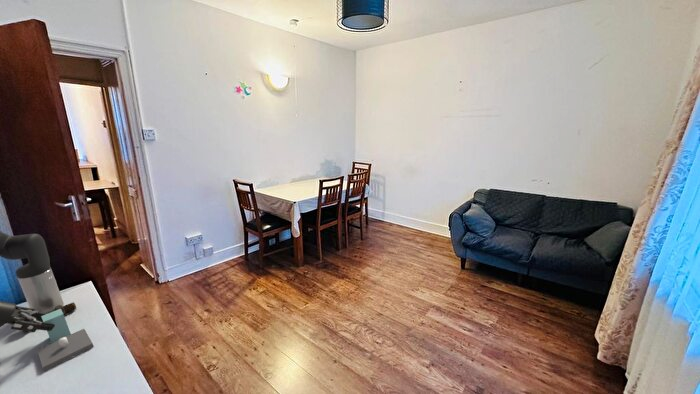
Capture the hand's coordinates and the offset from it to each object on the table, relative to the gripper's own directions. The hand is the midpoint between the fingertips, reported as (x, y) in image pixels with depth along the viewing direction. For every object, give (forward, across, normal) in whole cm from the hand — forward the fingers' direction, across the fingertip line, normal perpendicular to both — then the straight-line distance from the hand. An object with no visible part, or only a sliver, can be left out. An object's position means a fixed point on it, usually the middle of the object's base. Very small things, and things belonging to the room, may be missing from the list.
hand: (51, 322), depth 100 cm
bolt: (+5, +15, +5) cm, 17 cm away
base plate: (+5, -11, +4) cm, 13 cm away
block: (+5, 0, +4) cm, 7 cm away
